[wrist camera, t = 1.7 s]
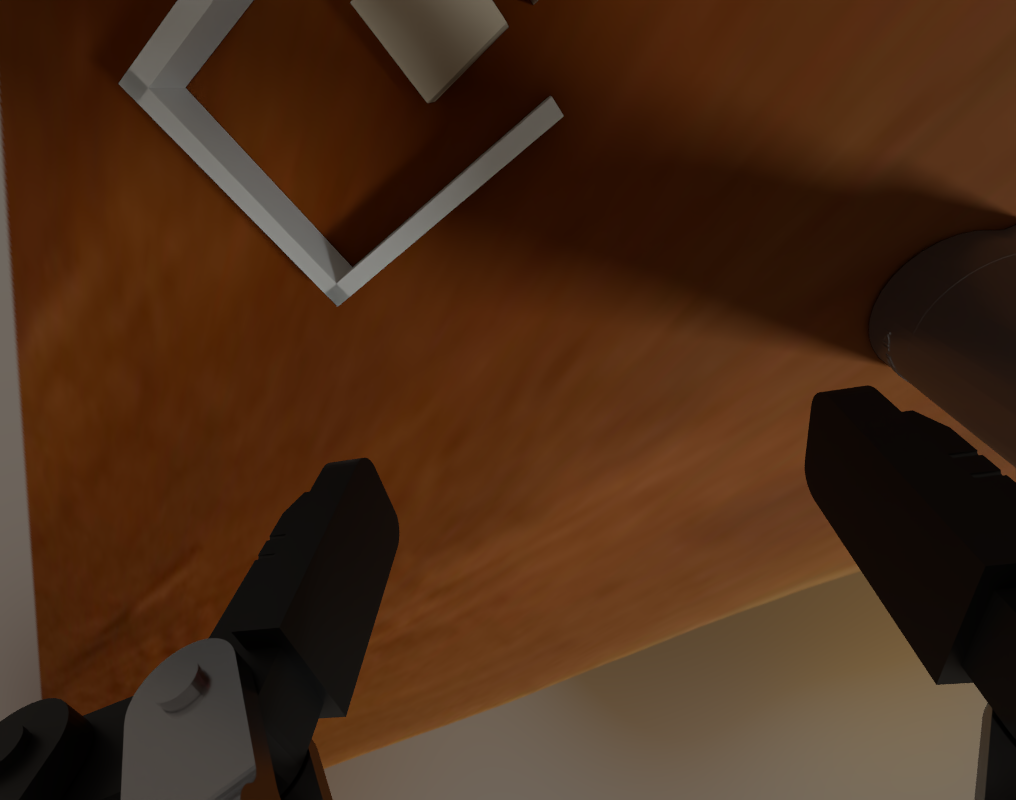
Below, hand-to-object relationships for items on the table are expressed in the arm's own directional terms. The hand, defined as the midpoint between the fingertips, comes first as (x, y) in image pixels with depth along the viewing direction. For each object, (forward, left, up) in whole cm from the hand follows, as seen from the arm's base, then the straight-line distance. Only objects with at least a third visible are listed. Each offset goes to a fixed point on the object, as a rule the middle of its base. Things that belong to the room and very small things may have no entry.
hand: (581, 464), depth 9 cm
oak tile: (-1, -11, -23) cm, 26 cm away
